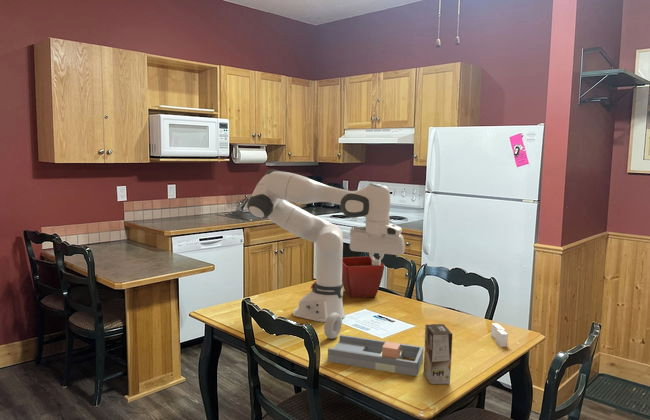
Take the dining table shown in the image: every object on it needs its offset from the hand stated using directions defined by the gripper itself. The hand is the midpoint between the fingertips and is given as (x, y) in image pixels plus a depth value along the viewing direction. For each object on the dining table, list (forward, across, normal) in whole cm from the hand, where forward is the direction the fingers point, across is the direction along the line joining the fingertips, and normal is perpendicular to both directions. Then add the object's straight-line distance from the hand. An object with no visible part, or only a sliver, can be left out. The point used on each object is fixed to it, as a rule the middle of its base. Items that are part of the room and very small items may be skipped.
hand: (376, 264), depth 184 cm
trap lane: (+29, +5, -17) cm, 34 cm away
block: (+27, +11, -21) cm, 35 cm away
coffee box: (+29, +26, -23) cm, 45 cm away
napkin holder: (+30, +44, +17) cm, 56 cm away
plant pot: (+29, -21, +56) cm, 67 cm away
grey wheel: (+29, -15, -4) cm, 33 cm away
